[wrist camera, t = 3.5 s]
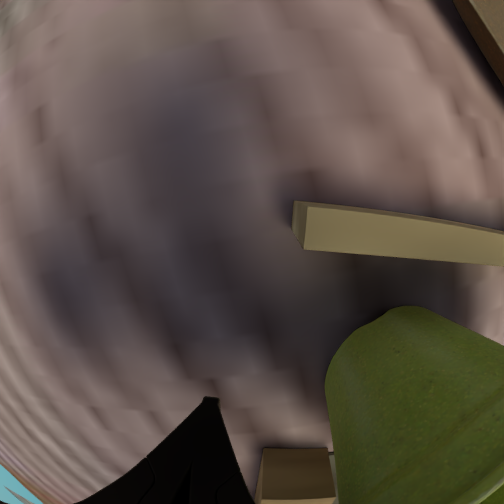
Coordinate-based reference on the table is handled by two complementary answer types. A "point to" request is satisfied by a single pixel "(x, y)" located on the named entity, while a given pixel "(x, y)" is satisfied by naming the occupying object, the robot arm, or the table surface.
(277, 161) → the table surface
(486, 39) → the plant saucer
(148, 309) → the table surface
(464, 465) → the plant pot
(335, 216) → the compartment box
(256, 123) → the table surface
